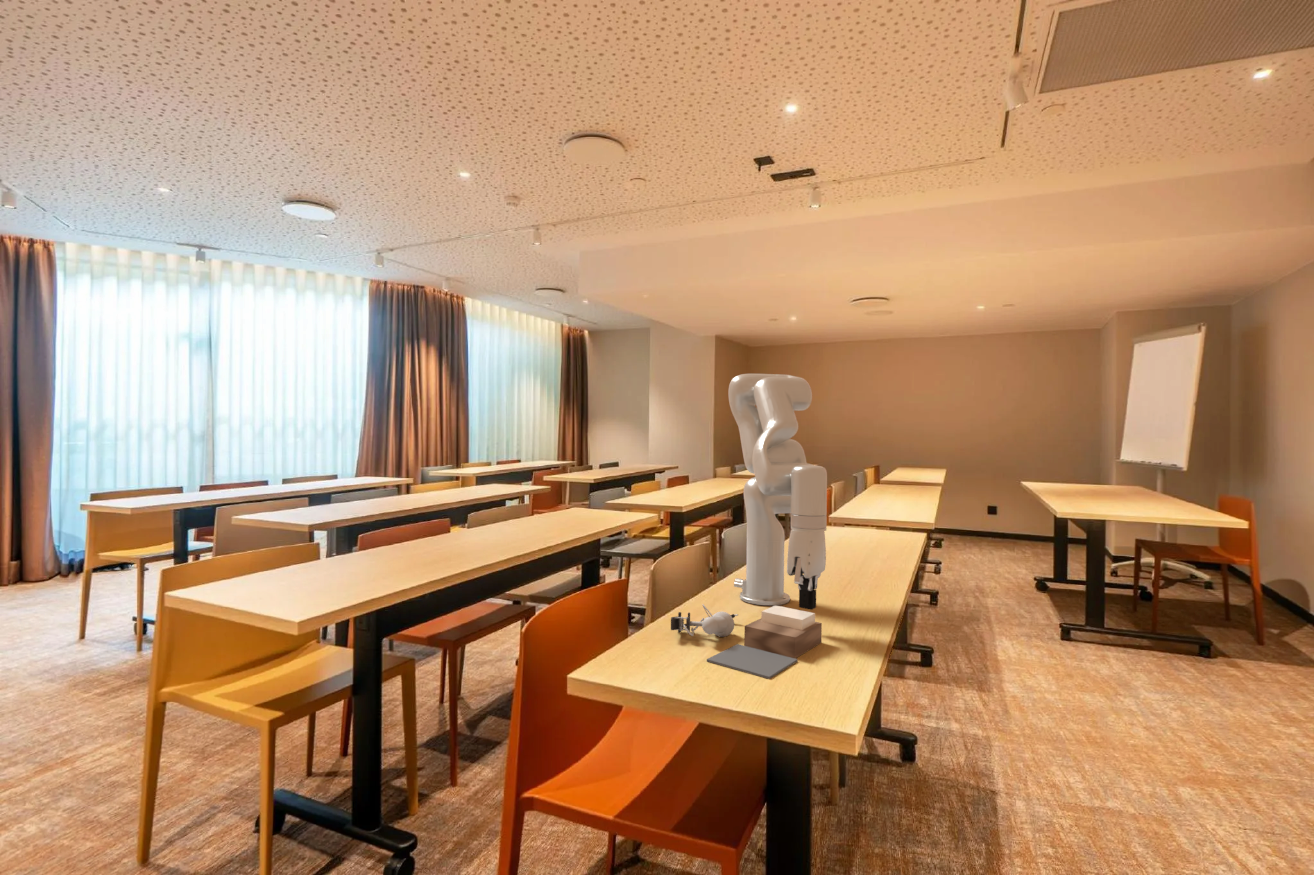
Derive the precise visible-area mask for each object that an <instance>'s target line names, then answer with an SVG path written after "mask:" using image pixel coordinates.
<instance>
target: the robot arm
mask: <svg viewBox="0 0 1314 875" xmlns="http://www.w3.org/2000/svg"><path fill="white" fill-rule="evenodd" d="M812 392H813V391H812V388H811V386H810V384H809V382H808V381H807V380H806V379H805V378H803V377H800V376H797V375H796V376H795V375H791V374H781V373H780V374H778V373H775V374H773V373H742V374H739V375H736V376H734V377H732V378H731V381H730V383H729V385H728V395H727V396H728V402H729V407H730V411H731V413H732V416H733V418H734V421H735V422H736V425H737V426H738V432H739V437H740V443H741V444H740V445H741V450H742V456H743V463H744V466H745V468H746V470H747V472H749V473H750V474H754V477H751V478H750V479H748V480H746V482H745V484H744V485H743V486H744V487H743V501H744V506H745V515H746V567H745V568H746V571H745V572H746V574H745V578H746V579H743V578H738V577H736V578H735V579H734V582H733V587H734V588H741V589H742V590H741V592H740V593H739V599H740V600H741V601H743V602H745V603H749V604H752V605H757V606H775V605H776V606H782V605H785V604H788V603H789V602H790V600H791V596H790V594H788V593H786V592H785V590H784V589H785V530H784V527H783V525H782V524H781V522H780V521H779V520H778V518H777V517H776V515H777V514H790V533H789V538H788V546H787V558H786V559H787V561H786V563H787V565H786V573H787V575H788V576H790V577H792V576H794V580H793V583H794V584H796V585H797V588H798V591H799V592H798V596H799V597H798V607H799V608H802V609H805V610H809V611H811V610H815V609H816V608H817V589H818V579H819V578H820V577H821V575H822V573H824V572H825V570H826V566H827V565H826V562H827V561H826V560H827V555H826V554H827V550H826V547H827V546H826V534H825V531H827V519H828V518H827V514H828V512H827V510H828V509H827V508H828V507H827V505H828V504H827V502H828V498H827V497H828V472H827V469H826V467H825V466H824V467H823V466H821V465H815V464H812V463H809V462H807V458H806V454H805V450H804V448H803V446H802V444H801V443H800V442H799V441H797V440H795V439H793V437H794V436H795V435H796V434H797V432H798V430H799V422H798V420H797V416H796V413H795V411H800V412H801V411H805V410H807V409H808V408H810V406H811V404H812V401H813V393H812ZM791 438H792V439H791Z"/></svg>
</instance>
